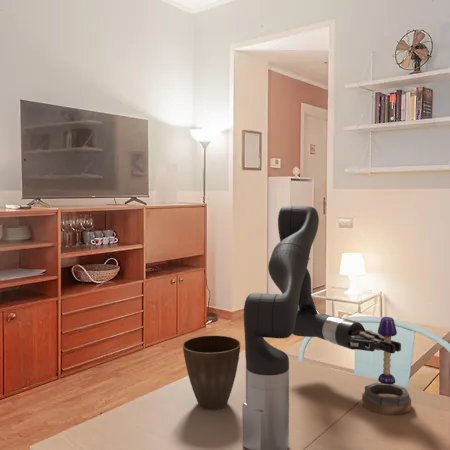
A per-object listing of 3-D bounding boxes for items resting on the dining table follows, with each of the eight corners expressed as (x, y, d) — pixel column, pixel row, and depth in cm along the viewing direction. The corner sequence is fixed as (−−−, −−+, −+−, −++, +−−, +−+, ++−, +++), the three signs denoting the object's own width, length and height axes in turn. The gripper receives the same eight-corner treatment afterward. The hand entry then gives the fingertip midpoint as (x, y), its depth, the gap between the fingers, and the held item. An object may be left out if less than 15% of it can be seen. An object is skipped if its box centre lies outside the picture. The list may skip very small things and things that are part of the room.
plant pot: (206, 422, 122) (206, 356, 121) (172, 402, 134) (171, 342, 132) (252, 405, 132) (252, 344, 130) (216, 388, 143) (216, 332, 142)
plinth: (392, 419, 123) (392, 404, 122) (352, 403, 132) (352, 389, 132) (420, 406, 130) (421, 392, 130) (381, 392, 139) (381, 378, 139)
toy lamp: (396, 386, 128) (398, 320, 127) (377, 384, 129) (378, 319, 128) (394, 378, 133) (396, 315, 131) (375, 377, 134) (377, 315, 132)
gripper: (326, 323, 137) (380, 338, 123) (359, 315, 145) (413, 329, 131) (326, 350, 138) (380, 369, 124) (358, 340, 146) (412, 357, 132)
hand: (397, 348), depth 128 cm, fingers closed on toy lamp
